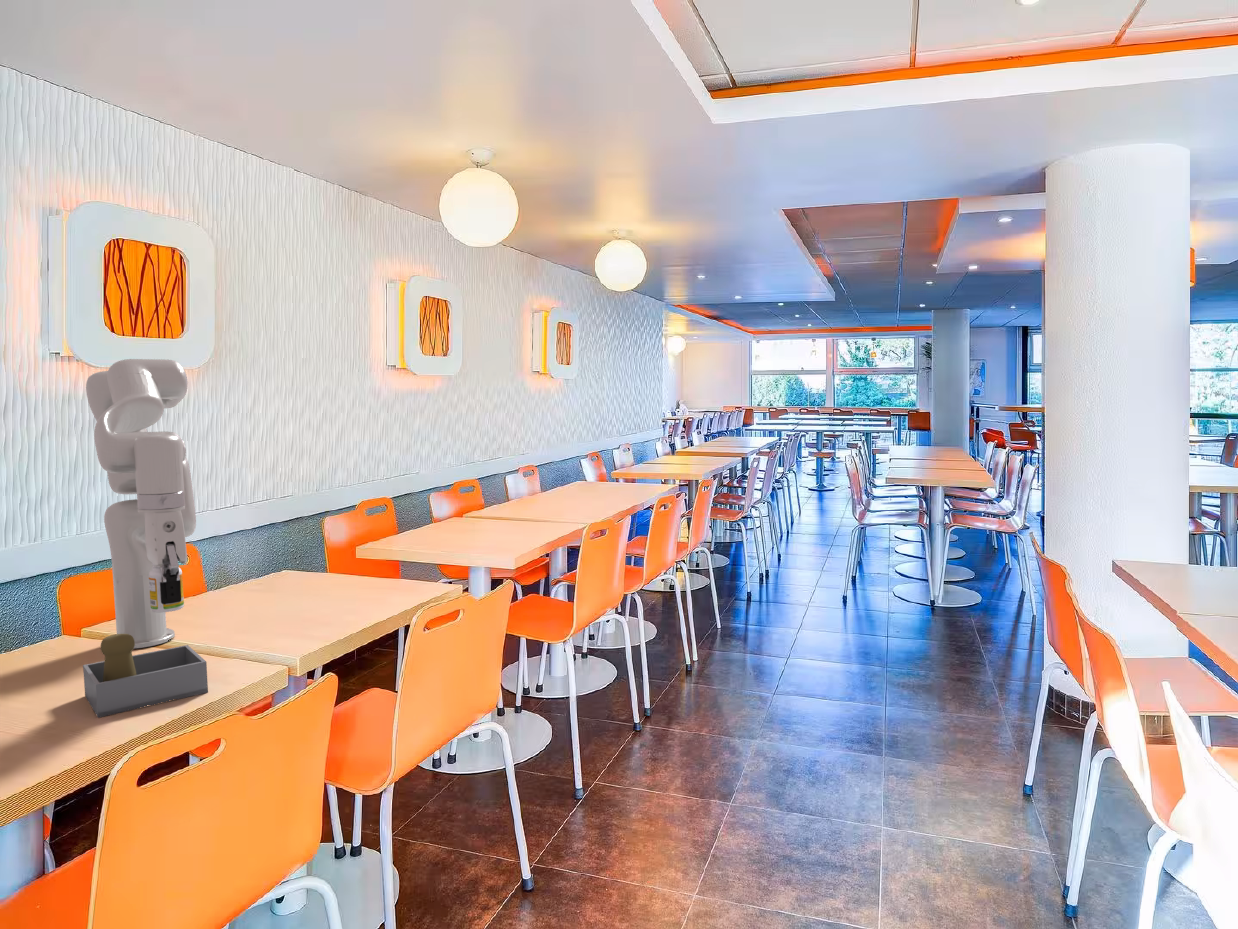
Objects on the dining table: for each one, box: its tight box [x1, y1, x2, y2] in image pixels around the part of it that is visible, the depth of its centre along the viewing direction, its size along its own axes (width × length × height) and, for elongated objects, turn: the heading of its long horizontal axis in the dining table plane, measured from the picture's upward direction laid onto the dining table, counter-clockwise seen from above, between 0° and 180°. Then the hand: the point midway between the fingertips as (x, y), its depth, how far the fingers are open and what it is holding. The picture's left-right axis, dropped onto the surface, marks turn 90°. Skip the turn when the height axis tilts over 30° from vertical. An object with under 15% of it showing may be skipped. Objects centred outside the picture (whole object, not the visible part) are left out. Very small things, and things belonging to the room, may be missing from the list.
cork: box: [100, 633, 137, 682], centre depth 144 cm, size 6×6×11 cm
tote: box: [82, 644, 209, 719], centre depth 147 cm, size 13×17×6 cm
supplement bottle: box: [149, 561, 185, 613], centre depth 148 cm, size 5×5×10 cm
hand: (167, 598), depth 149 cm, fingers closed on supplement bottle, 5 cm apart
